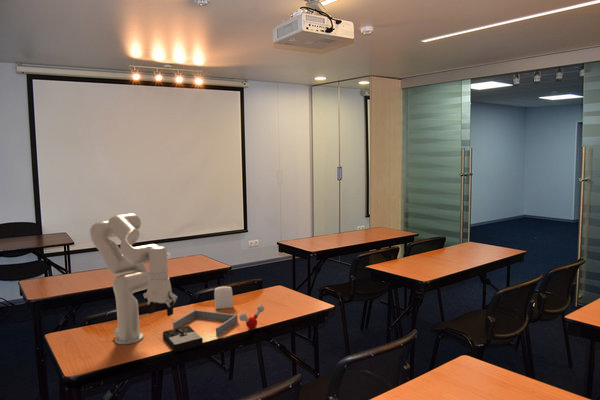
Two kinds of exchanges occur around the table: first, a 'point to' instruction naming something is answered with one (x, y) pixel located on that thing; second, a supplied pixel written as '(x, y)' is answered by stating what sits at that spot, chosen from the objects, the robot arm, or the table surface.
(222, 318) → the grey low wall frame
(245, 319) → the molecular model
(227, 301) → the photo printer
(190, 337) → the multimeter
